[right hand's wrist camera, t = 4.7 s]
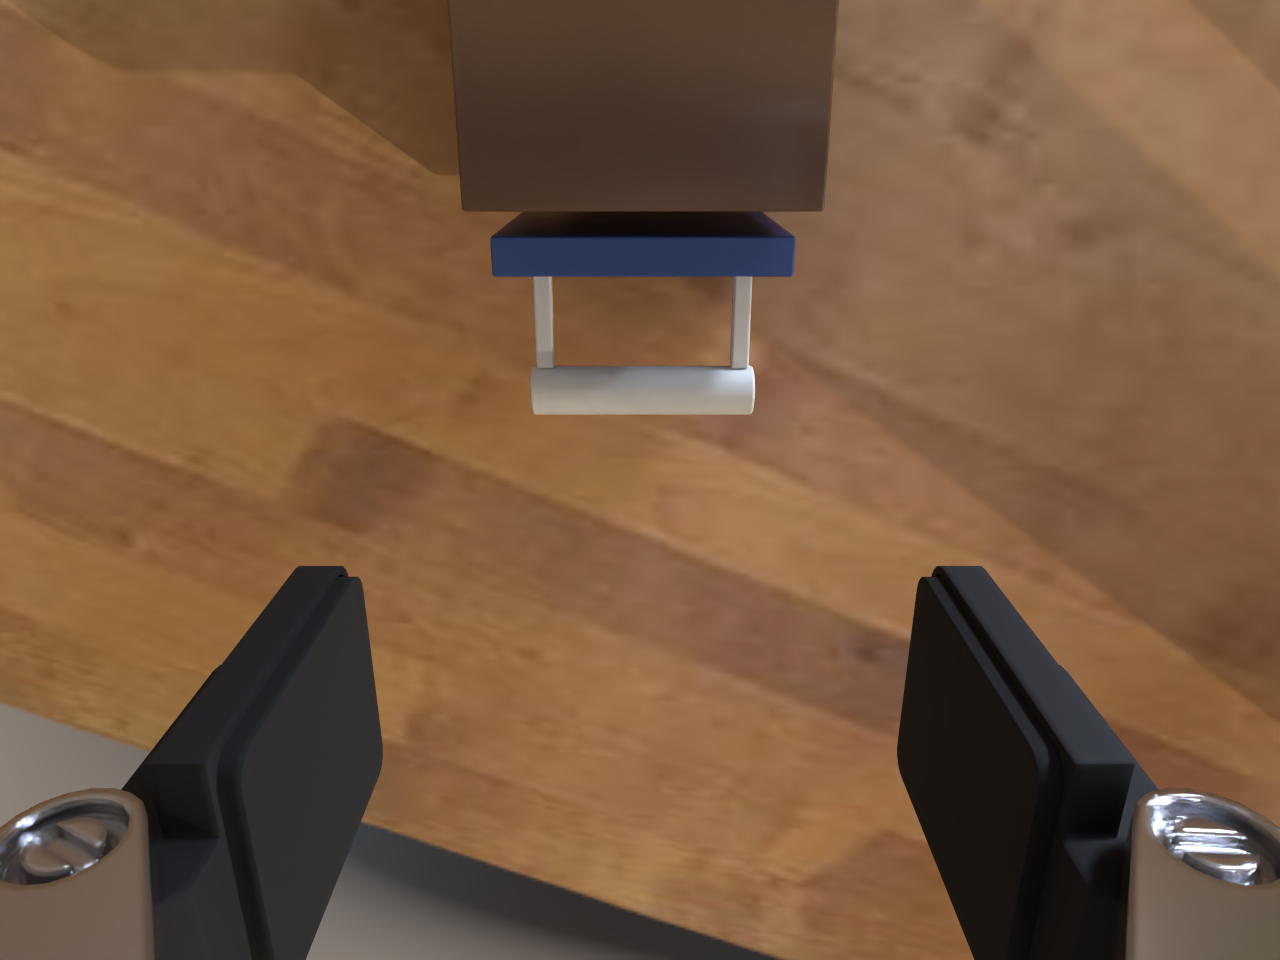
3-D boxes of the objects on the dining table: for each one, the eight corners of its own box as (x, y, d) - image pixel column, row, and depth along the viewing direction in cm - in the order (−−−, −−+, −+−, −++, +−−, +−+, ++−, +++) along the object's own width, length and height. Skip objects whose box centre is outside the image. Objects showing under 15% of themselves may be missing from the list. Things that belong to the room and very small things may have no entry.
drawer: (755, 380, 37) (783, 443, 30) (528, 380, 37) (502, 443, 30) (786, -274, 29) (835, -405, 22) (498, -274, 29) (451, -405, 22)
